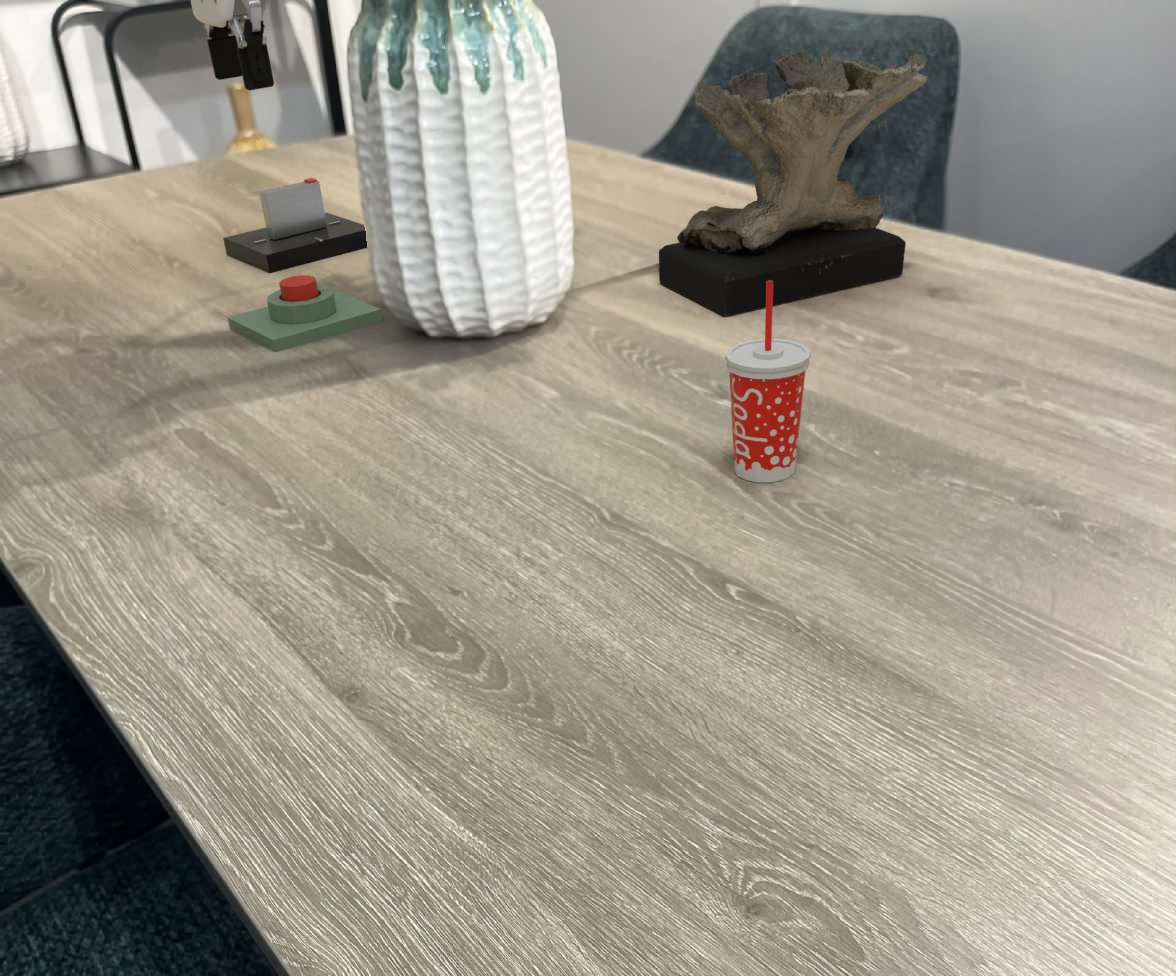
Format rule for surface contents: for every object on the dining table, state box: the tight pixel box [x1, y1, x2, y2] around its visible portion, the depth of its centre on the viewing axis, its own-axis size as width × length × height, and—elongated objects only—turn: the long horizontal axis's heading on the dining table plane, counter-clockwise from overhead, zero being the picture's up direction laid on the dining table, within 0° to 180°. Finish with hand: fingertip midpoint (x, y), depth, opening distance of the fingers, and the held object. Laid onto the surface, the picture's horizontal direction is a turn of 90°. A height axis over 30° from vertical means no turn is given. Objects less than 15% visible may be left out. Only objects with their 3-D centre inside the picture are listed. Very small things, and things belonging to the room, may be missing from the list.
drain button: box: [278, 274, 319, 302], centre depth 126 cm, size 4×4×2 cm
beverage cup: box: [724, 280, 812, 484], centre depth 93 cm, size 6×6×14 cm
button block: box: [227, 284, 383, 353], centre depth 128 cm, size 12×10×4 cm
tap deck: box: [222, 212, 368, 274], centre depth 150 cm, size 14×11×3 cm
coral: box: [658, 49, 928, 317], centre depth 126 cm, size 25×20×22 cm
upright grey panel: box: [258, 177, 327, 240], centre depth 148 cm, size 7×2×5 cm, turn 129°
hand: (244, 82), depth 142 cm, fingers open, 9 cm apart
